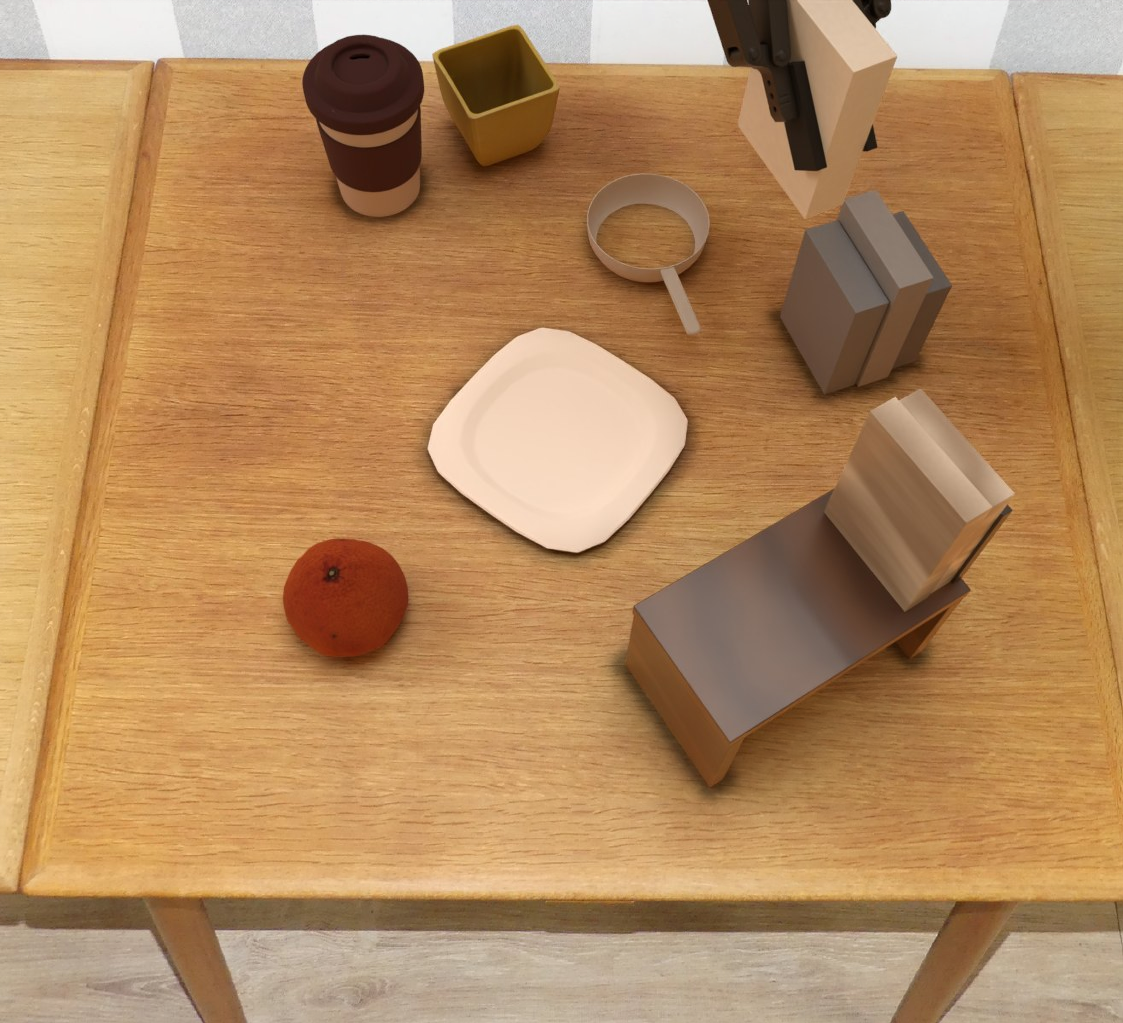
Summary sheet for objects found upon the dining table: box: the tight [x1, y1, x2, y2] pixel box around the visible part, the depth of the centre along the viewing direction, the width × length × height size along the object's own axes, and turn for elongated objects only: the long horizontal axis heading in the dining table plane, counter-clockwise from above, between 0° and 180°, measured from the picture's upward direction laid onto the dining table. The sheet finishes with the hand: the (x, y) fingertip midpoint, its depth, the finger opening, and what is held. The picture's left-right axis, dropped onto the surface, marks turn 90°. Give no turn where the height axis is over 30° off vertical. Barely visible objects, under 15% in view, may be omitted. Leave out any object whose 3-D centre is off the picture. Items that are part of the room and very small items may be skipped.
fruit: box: [282, 537, 409, 658], centre depth 90 cm, size 9×9×8 cm
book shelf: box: [624, 388, 1016, 788], centre depth 81 cm, size 20×11×25 cm, turn 122°
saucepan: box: [586, 173, 711, 336], centre depth 107 cm, size 11×18×4 cm, turn 16°
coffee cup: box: [301, 34, 425, 218], centre depth 106 cm, size 10×10×15 cm
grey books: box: [779, 189, 953, 395], centre depth 99 cm, size 9×9×14 cm
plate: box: [426, 327, 689, 554], centre depth 100 cm, size 18×18×2 cm
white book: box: [737, 0, 898, 220], centre depth 77 cm, size 9×3×13 cm, turn 27°
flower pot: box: [431, 24, 561, 167], centre depth 111 cm, size 9×9×9 cm
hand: (835, 158), depth 77 cm, fingers closed on white book, 3 cm apart
